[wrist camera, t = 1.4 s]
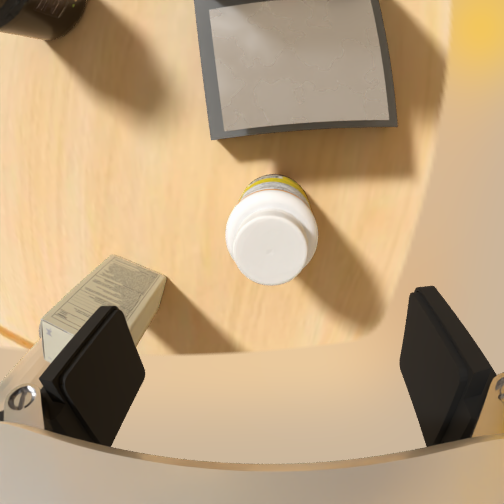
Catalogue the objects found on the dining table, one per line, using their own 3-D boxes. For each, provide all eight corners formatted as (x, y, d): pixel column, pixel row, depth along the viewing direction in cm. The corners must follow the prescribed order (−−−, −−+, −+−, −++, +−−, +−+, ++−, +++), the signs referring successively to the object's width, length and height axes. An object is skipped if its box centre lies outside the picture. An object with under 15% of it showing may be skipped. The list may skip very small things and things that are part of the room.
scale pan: (380, 120, 21) (389, 119, 19) (229, 130, 22) (224, 131, 20) (363, 8, 17) (370, -1, 16) (214, 18, 19) (208, 9, 17)
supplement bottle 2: (281, 250, 28) (279, 316, 18) (227, 212, 27) (197, 261, 17) (322, 200, 26) (345, 243, 16) (267, 158, 25) (258, 178, 16)
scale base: (389, 126, 23) (455, 130, 13) (216, 139, 25) (171, 148, 15) (359, -42, 17) (392, -109, 7) (196, -29, 19) (151, -94, 9)
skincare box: (106, 287, 31) (40, 359, 20) (112, 250, 29) (37, 316, 18) (160, 311, 31) (110, 396, 20) (170, 275, 30) (114, 357, 18)
